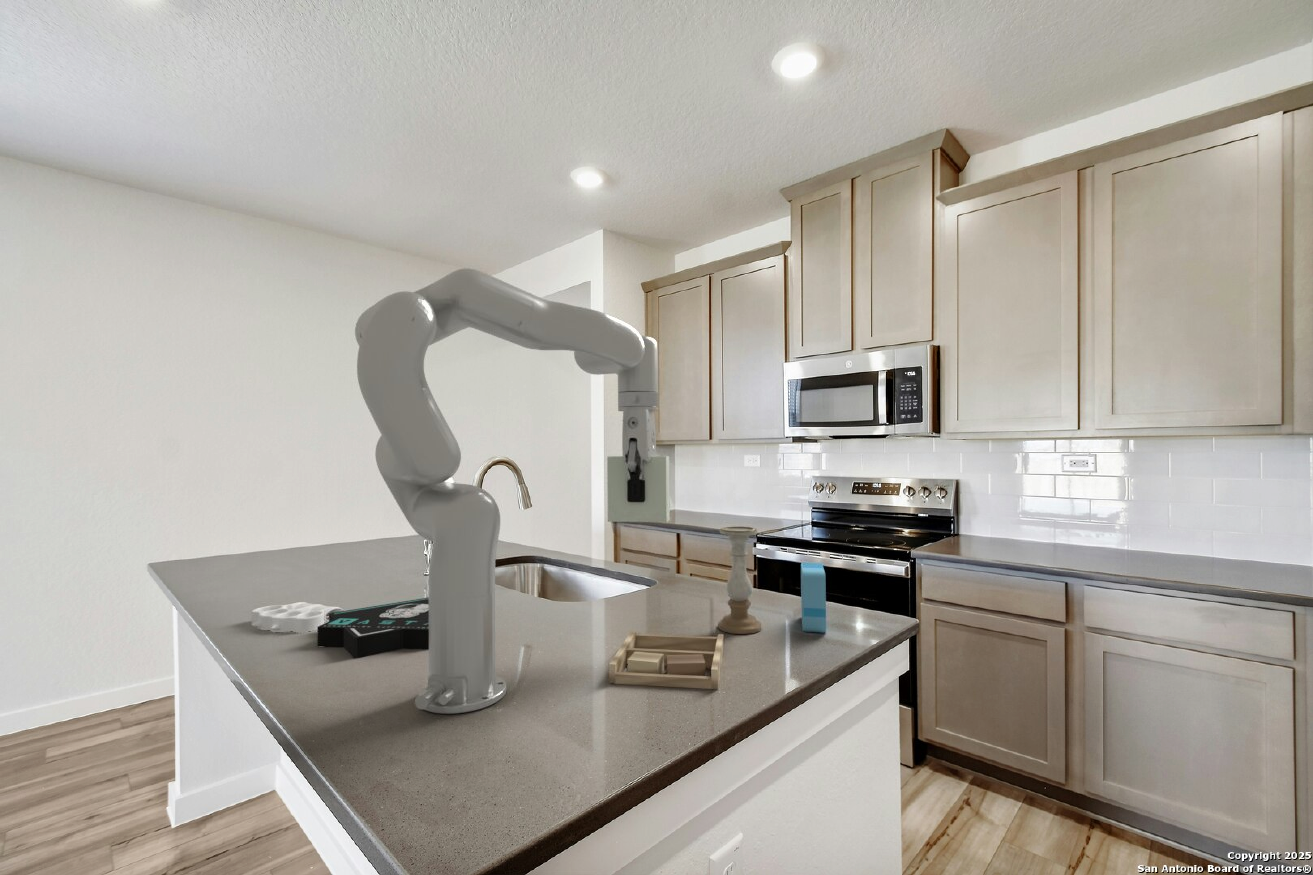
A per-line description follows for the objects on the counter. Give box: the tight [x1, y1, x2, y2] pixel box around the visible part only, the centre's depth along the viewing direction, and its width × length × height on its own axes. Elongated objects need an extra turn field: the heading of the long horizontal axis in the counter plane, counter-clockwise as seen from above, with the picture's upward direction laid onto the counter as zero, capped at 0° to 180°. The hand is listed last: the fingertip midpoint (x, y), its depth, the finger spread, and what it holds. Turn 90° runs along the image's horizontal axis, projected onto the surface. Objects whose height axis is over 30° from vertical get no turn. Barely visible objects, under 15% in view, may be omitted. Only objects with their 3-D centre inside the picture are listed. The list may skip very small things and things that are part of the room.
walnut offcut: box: [665, 654, 706, 676], centre depth 98 cm, size 4×6×3 cm, turn 92°
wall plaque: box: [316, 596, 429, 659], centre depth 122 cm, size 30×4×30 cm
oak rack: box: [608, 630, 725, 690], centre depth 102 cm, size 18×17×3 cm
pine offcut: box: [627, 652, 665, 674], centre depth 99 cm, size 4×5×3 cm
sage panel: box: [606, 455, 671, 523], centre depth 113 cm, size 4×11×12 cm, turn 81°
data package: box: [800, 562, 827, 633], centre depth 125 cm, size 12×4×12 cm, turn 167°
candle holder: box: [717, 525, 762, 635], centre depth 123 cm, size 9×9×20 cm
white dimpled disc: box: [251, 601, 344, 634], centre depth 129 cm, size 3×18×15 cm
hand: (638, 499), depth 113 cm, fingers closed on sage panel, 4 cm apart
